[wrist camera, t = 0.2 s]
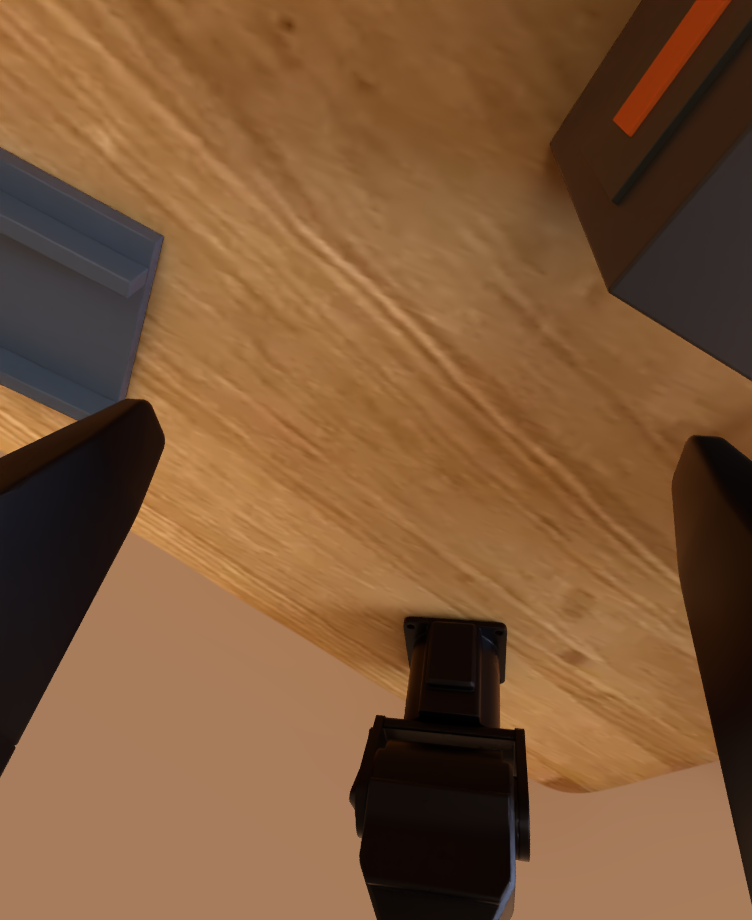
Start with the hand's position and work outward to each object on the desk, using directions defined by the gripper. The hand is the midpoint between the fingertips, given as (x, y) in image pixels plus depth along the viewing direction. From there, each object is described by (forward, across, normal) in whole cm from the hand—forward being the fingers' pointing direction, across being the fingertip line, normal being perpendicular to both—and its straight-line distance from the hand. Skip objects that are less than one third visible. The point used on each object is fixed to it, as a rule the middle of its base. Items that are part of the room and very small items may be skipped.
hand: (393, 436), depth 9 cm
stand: (+13, +20, +3) cm, 24 cm away
